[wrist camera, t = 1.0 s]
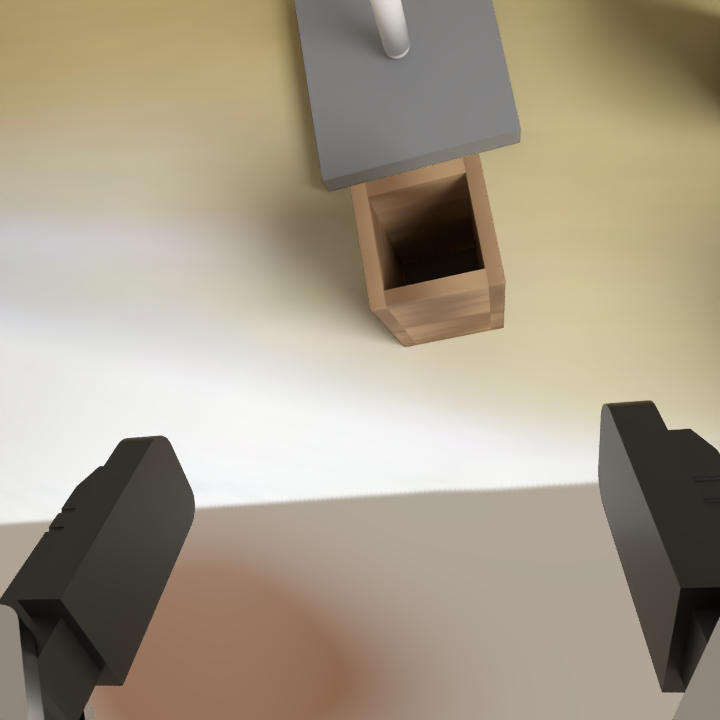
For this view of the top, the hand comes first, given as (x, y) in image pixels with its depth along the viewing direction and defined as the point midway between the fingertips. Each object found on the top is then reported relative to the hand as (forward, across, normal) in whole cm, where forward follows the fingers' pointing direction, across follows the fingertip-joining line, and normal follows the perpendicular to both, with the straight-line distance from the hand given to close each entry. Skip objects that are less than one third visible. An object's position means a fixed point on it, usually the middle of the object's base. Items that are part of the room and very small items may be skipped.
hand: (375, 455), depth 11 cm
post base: (+34, +1, -2) cm, 34 cm away
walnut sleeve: (+24, -1, +9) cm, 26 cm away
